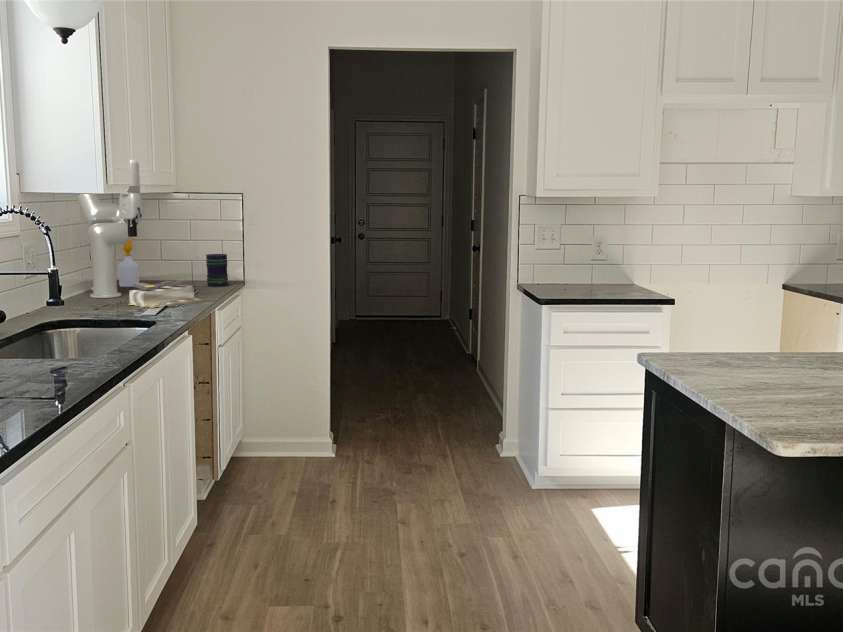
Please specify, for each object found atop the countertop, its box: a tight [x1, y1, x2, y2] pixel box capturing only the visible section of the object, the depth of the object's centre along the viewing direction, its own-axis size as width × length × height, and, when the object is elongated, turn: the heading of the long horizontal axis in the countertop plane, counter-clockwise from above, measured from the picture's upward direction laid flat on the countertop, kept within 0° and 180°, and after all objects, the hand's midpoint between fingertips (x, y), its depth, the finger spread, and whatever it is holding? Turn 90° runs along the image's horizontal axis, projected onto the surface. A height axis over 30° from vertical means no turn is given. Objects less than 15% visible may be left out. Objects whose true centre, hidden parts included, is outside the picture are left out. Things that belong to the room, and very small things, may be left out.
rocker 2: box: [167, 279, 190, 286], centre depth 355 cm, size 9×4×1 cm, turn 52°
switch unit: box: [128, 284, 204, 309], centre depth 348 cm, size 15×25×6 cm, turn 142°
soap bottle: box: [117, 237, 140, 288], centre depth 407 cm, size 9×9×25 cm
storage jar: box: [205, 253, 229, 288], centre depth 408 cm, size 10×10×15 cm
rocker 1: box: [132, 282, 157, 290], centre depth 342 cm, size 9×4×1 cm, turn 52°
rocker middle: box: [152, 280, 174, 288], centre depth 348 cm, size 9×4×1 cm, turn 52°
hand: (132, 236), depth 346 cm, fingers closed
